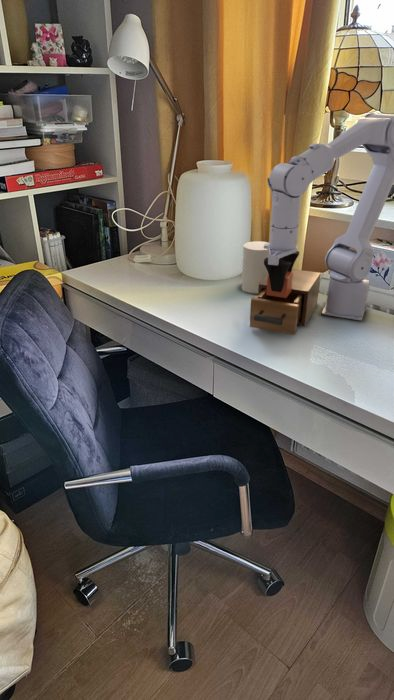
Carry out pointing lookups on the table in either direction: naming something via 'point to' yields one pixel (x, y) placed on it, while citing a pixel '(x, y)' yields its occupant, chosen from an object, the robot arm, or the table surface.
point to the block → (286, 287)
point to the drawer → (276, 312)
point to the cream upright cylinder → (253, 265)
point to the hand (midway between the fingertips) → (279, 287)
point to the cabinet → (302, 290)
